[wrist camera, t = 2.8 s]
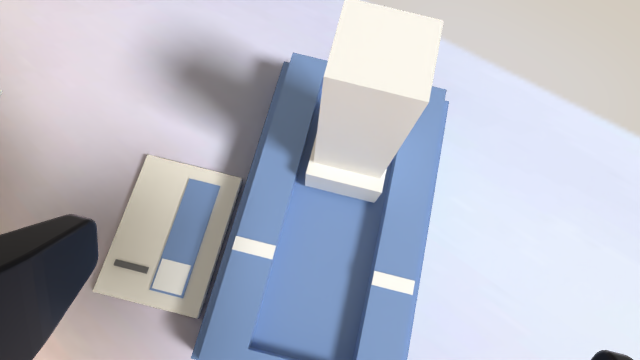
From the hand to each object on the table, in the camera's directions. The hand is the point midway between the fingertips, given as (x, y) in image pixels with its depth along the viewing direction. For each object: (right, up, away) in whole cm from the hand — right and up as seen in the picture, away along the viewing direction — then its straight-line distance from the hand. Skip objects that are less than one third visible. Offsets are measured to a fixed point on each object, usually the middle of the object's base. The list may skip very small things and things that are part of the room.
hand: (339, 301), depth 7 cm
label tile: (-8, 0, +13) cm, 15 cm away
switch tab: (+1, +3, +13) cm, 13 cm away
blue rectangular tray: (0, 0, +14) cm, 14 cm away
